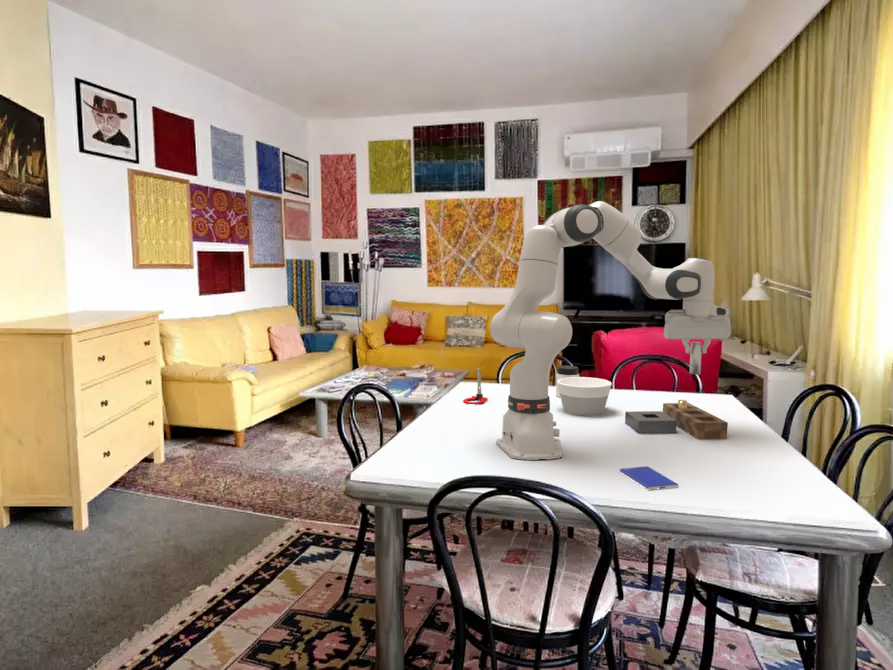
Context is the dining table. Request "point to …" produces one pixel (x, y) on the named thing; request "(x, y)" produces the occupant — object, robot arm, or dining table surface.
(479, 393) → the tow hook
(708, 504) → the dining table surface
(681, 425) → the rack
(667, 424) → the socket block
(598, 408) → the bowl
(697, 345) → the steel peg
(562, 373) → the jar
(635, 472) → the hard drive
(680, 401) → the cylinder
